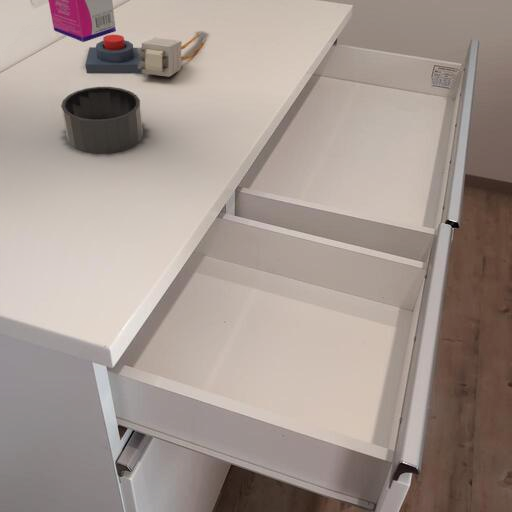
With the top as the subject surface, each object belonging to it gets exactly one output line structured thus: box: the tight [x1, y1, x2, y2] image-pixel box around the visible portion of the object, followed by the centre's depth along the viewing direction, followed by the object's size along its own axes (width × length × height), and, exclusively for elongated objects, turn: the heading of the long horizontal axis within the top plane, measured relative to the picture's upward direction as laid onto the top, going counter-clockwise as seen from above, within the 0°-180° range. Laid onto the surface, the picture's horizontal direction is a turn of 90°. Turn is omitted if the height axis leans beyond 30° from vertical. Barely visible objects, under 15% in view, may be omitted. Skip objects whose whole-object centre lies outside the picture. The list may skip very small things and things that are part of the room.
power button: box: [102, 34, 125, 50], centre depth 98 cm, size 4×4×2 cm
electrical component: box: [136, 31, 207, 78], centre depth 103 cm, size 24×6×5 cm, turn 168°
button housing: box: [84, 39, 143, 74], centre depth 100 cm, size 10×8×4 cm
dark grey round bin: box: [61, 86, 144, 155], centre depth 78 cm, size 11×11×6 cm
